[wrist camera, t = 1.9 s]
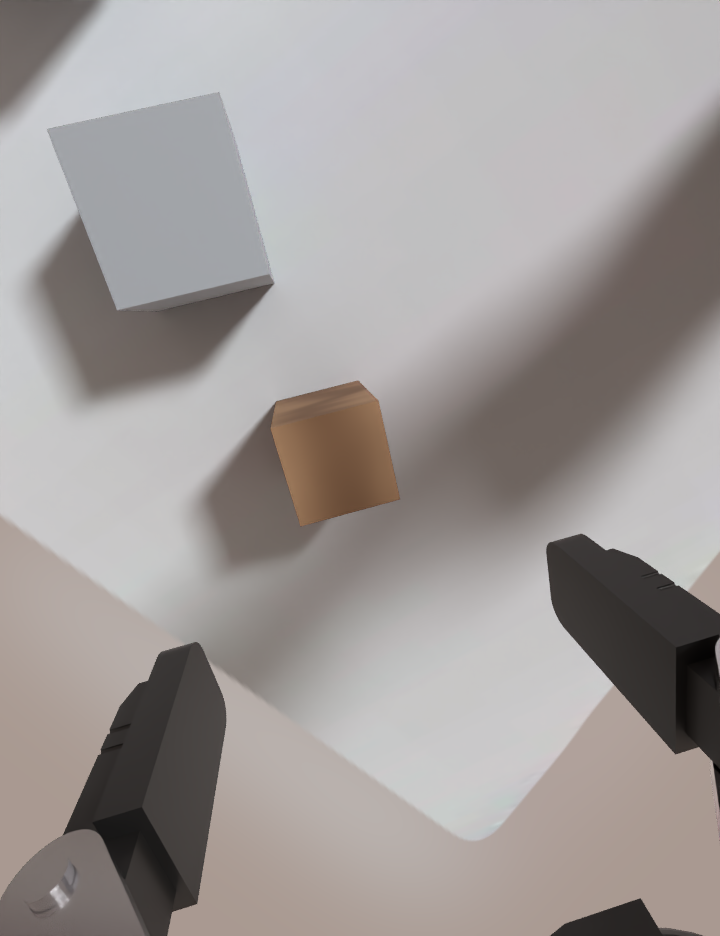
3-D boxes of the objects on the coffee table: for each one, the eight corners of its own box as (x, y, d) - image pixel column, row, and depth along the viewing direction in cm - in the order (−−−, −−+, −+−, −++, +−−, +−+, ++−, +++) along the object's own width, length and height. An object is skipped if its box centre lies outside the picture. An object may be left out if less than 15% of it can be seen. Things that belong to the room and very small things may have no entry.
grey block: (237, 147, 23) (219, 91, 17) (274, 283, 25) (269, 274, 20) (108, 175, 23) (46, 129, 17) (157, 311, 25) (116, 310, 19)
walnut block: (357, 380, 27) (378, 400, 21) (375, 457, 29) (400, 499, 22) (276, 401, 27) (270, 428, 20) (299, 478, 29) (300, 526, 22)
